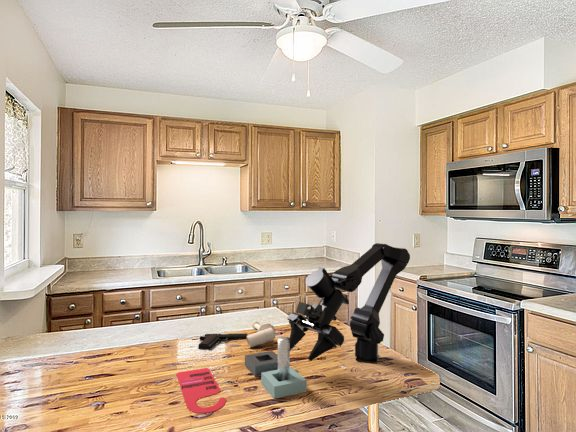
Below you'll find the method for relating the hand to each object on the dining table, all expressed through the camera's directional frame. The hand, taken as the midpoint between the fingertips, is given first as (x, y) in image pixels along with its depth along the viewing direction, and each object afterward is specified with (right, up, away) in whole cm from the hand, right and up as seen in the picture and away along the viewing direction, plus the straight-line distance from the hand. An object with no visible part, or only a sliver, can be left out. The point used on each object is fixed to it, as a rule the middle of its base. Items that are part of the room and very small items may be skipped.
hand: (298, 354), depth 104 cm
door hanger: (-26, -8, -4) cm, 27 cm away
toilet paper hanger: (-14, -7, +37) cm, 40 cm away
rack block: (-4, -8, -3) cm, 9 cm away
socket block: (-10, -7, +10) cm, 16 cm away
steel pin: (-4, -8, -3) cm, 9 cm away
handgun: (-25, -8, +31) cm, 40 cm away
